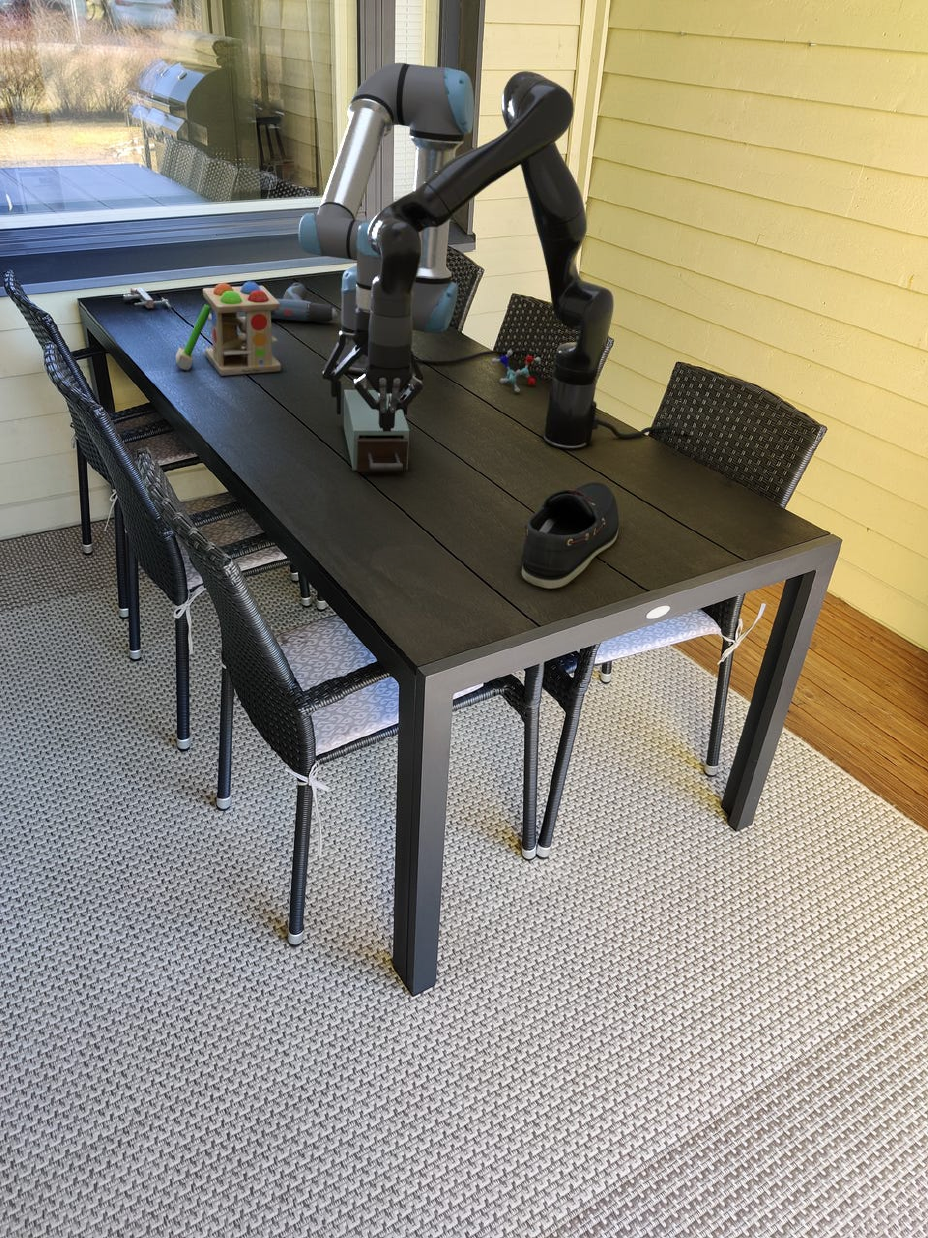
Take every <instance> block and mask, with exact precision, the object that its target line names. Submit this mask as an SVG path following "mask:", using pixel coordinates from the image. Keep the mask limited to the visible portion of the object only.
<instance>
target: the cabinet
mask: <svg viewBox="0 0 928 1238" xmlns="http://www.w3.org/2000/svg"><path fill="white" fill-rule="evenodd" d="M367 390H368V391H369V392H370V394H371V395H372V396H373V398H374V399H375V400H377V401H378V393H377V392H376V391H375V390H374V389H367ZM388 399H389V394H387V409H388ZM398 400H399V398H398ZM405 416H406V415H404V413H403V410H401V409H400V410H397V411H396V413H395V426H394V428H391V432H383V430H382V428H380V427H379V423H378V419H379V411H378V410H373V409H371V408H370V406H369V405H368V404H367V403H366V401H365V400H364V399H363V398H362V396H361V395H360V394H359V393H358V391H357V390H356V389H344V390H343V430H344V435H345V439H346V444H347V450H348V455H349V458H350V464H351V468H352V471H357V439H359V435H401V439H407V440H408V450H407V466H408V464H409V445H410V427H409V425H408V422H407V419H406V417H405ZM406 471H408V467H407V468H406Z"/></svg>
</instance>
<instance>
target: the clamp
mask: <svg viewBox="0 0 928 1238" xmlns="http://www.w3.org/2000/svg"><path fill="white" fill-rule="evenodd" d="M129 289H130V293H129V294H128V293H127V294H122V295H123V297H122V298H123V300H124V301H128V300H129V301H130V300H133V299H135V300H136V299H138V300H140V302H135V303H134V306H144V307H146V308H147V309H154V305H162V306H167V308H168V309H172V308H173V305H172V304H170V302H169V299H168V298H167V299H165V297H160V300H153V298H152V297H151V296H150V295H149V294H148V293H147V292H146V291H145V290H144V289H143V288H142V287H136V288H135V287H131V288H129Z"/></svg>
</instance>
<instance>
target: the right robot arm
mask: <svg viewBox="0 0 928 1238" xmlns="http://www.w3.org/2000/svg"><path fill="white" fill-rule="evenodd" d="M502 91H503V92H502V96H501V115H502V118H503V122H504V125H505V128H506V130H505V131H504V132H503V133H501V134H500V135H499V136H497V137H495V138H493V139H491V140H490V141H488V142H486V143H484V144H482V145H480V146H477V147H476V148H475V147H474V148H472V149H470V150H468V151H466V152H464V153H461V154H459V155H457V156H455V158H453V159H451V160H450V161H448V162H447V163H445V164H444V165H443V166H441V167H440V168H439V169H438V170H437V171H435V172H434V173H433V174H432V175H431V176H430V177H429V178H428V179H427V180H425V181H424V182H423V183H422V184H421V185H420V186H419V187H418V188H417V189H416V190H415V191H413V190H412V191H411V192H410V193H408V194H406V195H404V196H401V197H400V198H399V199H397V200H395V201H393V202H392V203H391V204H389V205H387V206H386V207H384V208H383V209H382V210H380V211H379V212H378V213H377V214H376V215H375V217H374V218H373V219H372V220H371V221H372V222H371V224H370V226H369V228H368V233H367V238H368V242H369V245H370V246H371V248H372V249H373V250H374V251H375V252H376V253H377V254H379V255H380V256H382V263H381V270H380V274H379V275H377V276H376V277H375V278H374V280H373V283H372V290H371V314H370V320H369V329H368V335H369V340H368V365H367V368H366V369H365V374H364V375H361V376H360V377H356V378H353V380H352V383H353V387H354V390H357V391H358V393H359V394H360V395H361V396H362V398H363V399H364V400H365V401H366V403H367V404H368V405H369V406H370V408H371V409H373V410H378V411H379V419H378V423H379V427H380V428H382V430H383V432H391V428H394V426H395V413H396V411H397V410H400V409H401V410H404V409H405V408H406V407H407V408H408V407H409V405H410V404H411V403H412V402H413V401H414V399H415V398H416V397H417V396H418V395H419V394H420V393H421V391H422V390H423V389H424V384H423V382H422V381H421V380H420V379H416V378H415V377H414V376H413V374H414V373H413V371H412V370H413V369H411V368H412V367H411V363H410V362H411V350H412V343H413V330H412V298H413V285H414V282H415V279H416V276H417V272H418V268H419V264H420V259H421V253H422V243H421V237H420V232H421V231H422V230H424V229H426V228H428V227H439V226H441V225H443V224H444V223H446V222H447V221H448V220H449V219H450V220H451V219H452V218H453V217H454V216H455V215H456V214H457V213H458V212H460V211H461V210H462V209H463V208H464V207H465V206H466V205H467V204H469V202H470V201H471V200H473V199H475V197H476V196H478V195H479V194H480V193H481V192H482V191H484V190H485V189H486V188H488V187H489V186H491V185H492V184H493V183H494V182H497V181H498V180H499V179H501V178H503V176H505V175H507V174H508V173H510V172H511V171H513V170H515V169H516V168H518V167H519V166H520V169H521V172H522V176H523V181H524V184H525V189H526V192H527V196H528V199H529V204H530V207H531V208H530V209H531V212H532V217H533V220H534V225H535V228H536V232H537V236H538V239H539V242H540V246H541V250H542V254H543V258H544V262H545V267H546V272H547V277H548V278H547V279H548V285H549V291H550V300H551V304H552V311H553V314H554V317H555V319H556V320H557V321H558V323H560V324H561V325H563V326H564V327H566V328H570V329H572V330H576V331H579V334H578V338H577V341H573V342H566V343H562V344H559V346H558V347H557V348H556V350H555V357H554V362H553V370H552V378H551V386H550V391H549V399H548V406H547V413H546V417H545V421H546V422H545V427H544V433H543V441H544V442H545V443H546V444H548V445H549V446H552V447H555V448H556V449H557V448H558V449H563V450H578V449H582V448H584V447H590V446H591V442H592V435H593V431H594V430H595V431H597V430H598V427H599V426H602V427H604V428H606V429H608V430H610V431H611V433H612V434H613V435H614V436H615V437H616V438H619V439H623V440H628V439H629V440H630V439H635V438H639V437H642V436H643V435H645V434H647V433H650V432H651V433H652V432H657V431H665V430H666V431H668V430H669V429H670V426H669V425H670V424H666V425H665V424H663V425H657V426H649V427H645V428H643V429H641V430H640V431H638V432H637V431H636V432H632V433H620V432H619V431H618V430H617V428H616V427H615V426H613V425H612V424H610V423H609V422H607V421H604V420H601V419H599V418H598V417H597V416H596V413H597V406H598V404H597V402H596V401H595V395H596V389H597V383H598V376H599V370H600V365H601V360H602V357H603V355H604V353H605V350H606V347H607V342H608V337H609V332H610V327H611V323H612V320H613V314H614V307H615V303H614V302H615V300H614V296H613V292H612V291H611V290H610V289H609V288H607V287H604V286H601V285H599V284H595V283H593V282H589V281H585V280H583V279H582V278H581V276H580V274H579V271H578V266H577V261H576V259H577V255H578V253H579V251H580V249H581V247H582V245H583V244H584V242H585V239H586V236H587V232H588V218H587V213H586V209H585V204H584V199H583V196H582V193H581V189H580V187H579V185H578V183H577V181H576V179H575V177H574V175H573V174H572V172H571V170H570V168H569V165H568V164H567V163H566V161H565V160H564V158H563V156H562V154H561V153H560V151H559V148H558V146H557V144H556V142H557V141H558V140H560V138H561V137H562V136H563V135H565V133H566V132H567V131H568V130H569V128H570V126H571V124H572V121H573V117H574V113H575V107H574V106H575V103H574V99H573V98H572V95H571V94H570V91H568V90H567V89H566V88H565V87H563V86H561V85H560V84H558V83H557V82H555V81H552V80H551V79H549V78H547V77H545V76H544V75H542V74H539V73H536V72H534V71H529V70H523V71H519V72H517V73H515V74H513V75H512V76H511V77H510V78H509V80H508V81H507V82H506V85H505V86H504V88H503V90H502ZM450 220H449V221H450ZM409 381H410V383H409ZM368 383H369V384H370V386H371V387H372V388H373V390H375V391H376V392H377V393H378V401H377V400H375V399H374V398H373V396H372V395H371V394H370V392H369V391H368V390H369V389H368V387H369V386H368V385H369V384H368ZM408 383H409V385H408V386H409V388H408V389H407V390H406V392H405V393H404V394H403V395H401V396H400V397H399V395H400V393H401V392H403V389H404V387H405V386H406V385H407V384H408ZM387 394H389V399H388V409H387ZM398 399H399V400H398ZM652 427H653V428H652ZM669 431H670V430H669ZM684 435H685V436H686V437H690V438H691V436H688V435H687V434H684Z"/></svg>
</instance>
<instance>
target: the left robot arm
mask: <svg viewBox="0 0 928 1238" xmlns="http://www.w3.org/2000/svg"><path fill="white" fill-rule="evenodd" d="M473 89H474V88H473V84H472V80H471V78H470V76H469V75H468V74H467V73H466V72H465V71H463V70H459V69H454V68H450V67H440V66H430V65H422V64H410V63H407V62H393V63H389V64H387V65H384V66H382V67H380V68H379V69H376V70H375V71H373V72H372V73H370V75H369V76H368V77H367V78H365V80H364V81H363V82H362V83H361V84H360V86H359V87H358V88H357V89H356V91H355V92H354V94H353V96H352V98H351V101H350V104H349V106H348V109H347V120H348V124H347V127H346V130H345V132H344V135H343V138H342V141H341V143H340V147H339V150H338V153H337V156H336V159H335V162H334V165H333V167H332V170H331V173H330V176H329V179H328V180H327V181H328V182H327V184H326V188H325V190H324V193H323V196H322V199H321V202H320V204H319V207H318V211H317V212H316V213H315V212H312V213H311V212H310V213H309V212H307V213H304V215H303V216H302V217H301V218H300V221H299V224H298V234H297V235H298V242H299V246H300V249H301V250H302V251H303V252H305V253H307V254H312V255H315V256H320V257H330V258H337V259H343V260H350V261H356V265H354V266H351V267H349V268H346V270H345V271H344V272H343V274H342V281H341V287H340V292H341V316H340V317H341V319H340V321H341V324H340V325H341V326H340V329H341V330H339V332H338V337H337V342H336V344H335V346H334V347H333V349H332V351H331V353H330V355H329V357H328V359H327V360H326V362H325V365H324V366H323V368H322V370H321V375H322V378H323V379H324V380H327V381H329V382H330V395H331V397H332V398H335V411H336V415H341V414H342V380H341V378H342V377H343V376H344V375H345V374H346V373H347V374H352V375H356V376H363V375H364V374H365V369H366V368H367V365H368V340H369V335H368V329H369V320H370V314H371V290H372V283H373V280H374V278H375V277H376V276H377V275H379V274H380V270H381V263H382V256H380V255H379V254H377V253H376V252H375V251H374V250H373V249H372V248H371V246H370V245H369V242H368V238H367V233H368V228H369V226H370V224H371V222H372V220H371V221H368V220H367V221H366V220H360V219H357V217H358V214H359V211H360V208H361V204H362V201H363V198H364V196H365V193H366V190H367V188H368V184H369V182H370V178H371V175H372V171H373V169H374V166H375V164H376V163H375V162H376V160H377V157H378V154H379V152H380V149H381V146H382V143H383V140H384V138H385V137H386V136H388V135H389V134H390V132H391V130H392V128H393V126H402V127H409V136H408V137H409V138H410V140H411V142H412V143H413V144H414V146H415V152H414V154H415V155H414V168H413V183H412V192H413V191H415V190H416V189H417V188H418V187H419V186H420V185H421V184H422V183H423V182H424V181H425V180H427V179H428V178H429V177H430V176H431V175H432V174H433V173H434V172H435V171H437V170H438V169H439V168H440V167H441V166H443V165H444V164H445V163H447V162H448V161H450V160H451V159H453V158H455V157H456V151H457V149H458V148H459V147H461V146H462V145H463V144H464V138H465V136H466V135H468V134H470V133H471V132H472V131H473V127H474V126H473V125H474V118H475V99H474V90H473ZM450 220H451V218H450V219H449V220H448V221H447V222H446V223H444V224H443V225H441V226H439V227H428V228H426V229H424V230H422V231H421V232H420V237H421V243H422V253H421V259H420V264H419V268H418V272H417V276H416V279H415V282H414V285H413V298H412V331H416V332H422V333H425V334H427V333H430V334H442V333H444V332H446V330H447V329H448V328H449V325H450V323H451V321H452V318H453V315H454V311H455V308H456V304H457V300H458V294H459V293H458V290H459V286H458V284H457V283H455V282H454V281H452V272H451V270H450V269H449V268H448V266H447V255H448V241H449V229H450ZM523 349H524V348H522V349H513V350H512V349H503V350H501V349H500V350H487V351H483V352H482V351H481V352H479V353H474V354H471V355H467V356H462V357H458V358H454V359H449V360H448V359H447V360H446V359H445V360H431V359H423V358H416V357H415V355H414V353H413V350H412V349H411V362H410V366H411V368H412V370H413V372H414V373H413V376H414V377H415V378H416V379H420V380H421V382H422V381H423V380H424V376H423V373H422V371H421V368H420V367H419V364H418V363H423V364H435V365H436V364H437V365H440V364H442V365H444V364H445V365H446V364H454V363H458V362H459V363H460V362H462V361H467V360H471V359H474V358H475V359H476V358H479V357H482V356H486V355H493V354H495V355H496V354H507V352H508V351H509V350H511V351H512V352H513V353H512V354H520V353H528V352H531V351H524V350H523ZM531 353H532V352H531ZM409 383H410V381H409ZM409 383H408V384H407V385H406V386H405V387H404V389H403V390H402V395H403V394H404V393H405V392H406V390H407V389H408V388H409V386H408V385H409ZM402 395H401V396H402ZM403 413H404V416H407V415H408V406H407V407H406V408H405V409H404V410H403Z"/></svg>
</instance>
